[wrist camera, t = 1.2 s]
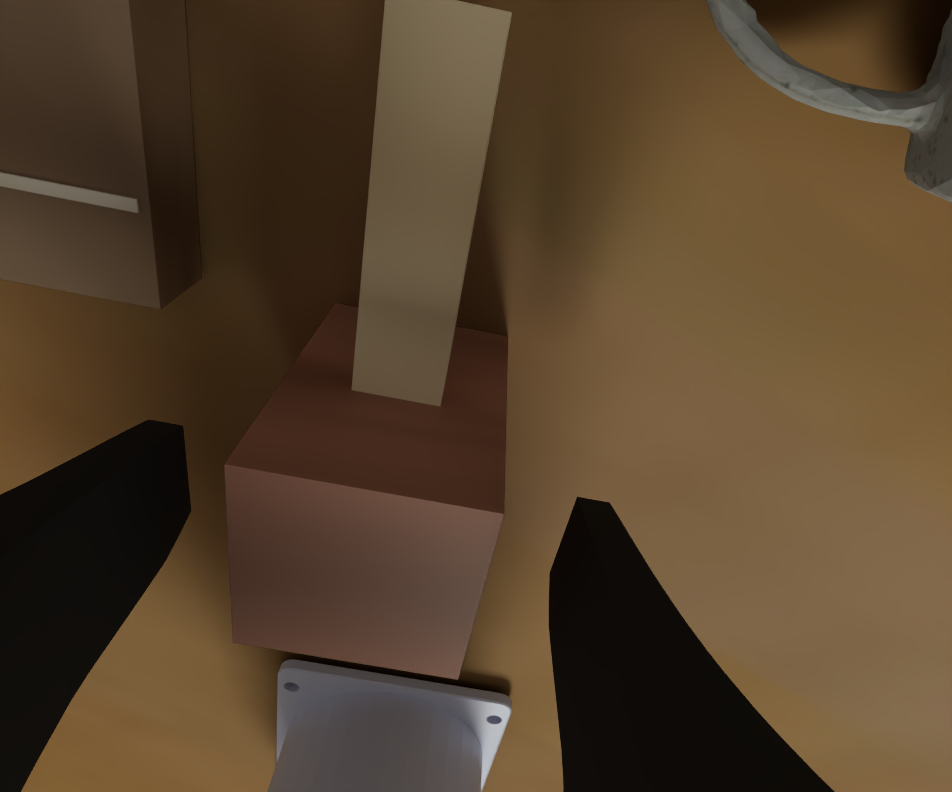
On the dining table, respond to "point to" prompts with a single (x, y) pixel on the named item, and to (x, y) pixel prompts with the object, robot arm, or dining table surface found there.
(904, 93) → the ceramic mug
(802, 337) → the dining table surface
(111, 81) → the board
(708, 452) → the dining table surface
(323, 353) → the block with upright post
